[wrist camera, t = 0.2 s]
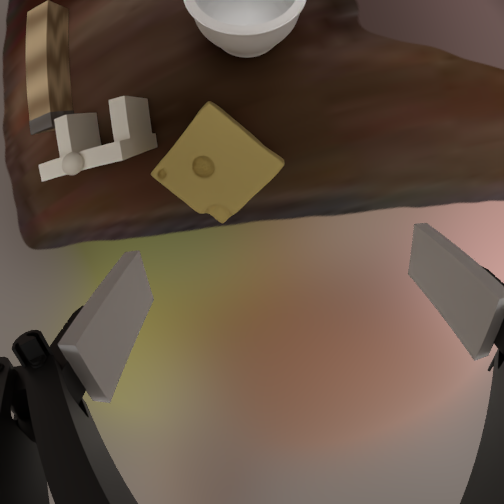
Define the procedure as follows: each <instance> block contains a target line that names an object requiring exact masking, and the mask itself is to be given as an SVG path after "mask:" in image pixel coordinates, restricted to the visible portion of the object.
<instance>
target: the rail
mask: <svg viewBox="0 0 504 504" xmlns="http://www.w3.org/2000/svg"><path fill="white" fill-rule="evenodd" d="M68 19H69V9H67V8H65V7H63V6H60V5H58V4H56V3H53V2H51V1H49V0H48V1H46V2H44V3H42V4H41V5H39V6H37V7H36V8H34V9H32V10H31V11H29V12H28V13H27V27H26V82H27V98H28V109H29V118H30V121H29V124H30V132H31V135H33V134H38V133H43V132H48V131H54V130H56V129H55V122H54V119H56V118H59V117H61V116H64V115H66V114H74V110H73V103H72V94H71V82H70V68H69V43H68Z"/></svg>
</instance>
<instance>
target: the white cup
mask: <svg viewBox="0 0 504 504" xmlns="http://www.w3.org/2000/svg"><path fill="white" fill-rule="evenodd" d="M305 3H306V0H184V4H185V6H186V8H187V10H188V11H189V13H190V14H191V15H192V17H193V18H194V20H195V22H196V24H197V26H198V28H199V30H200V31H201V32H202V34H203V35H204V36H205V37H206V38H207V39H208V40H209V41H211V42H212V43H213V44H215V45H217V46H218V47H220V48H222V49H223V50H224V51H225V52H227V53H229V54H231V55H233V56H237V57H244V58H249V57H256V56H260V55H262V54H264V53H266V52H268V51H269V50H271V49H272V48H273V47H274V46H275V45H277V44H278V43H279V42H281V41H282V40H283V39H284V38H285V37H286V36H287V35H288V34H289V33H290V32H291V31H292V29H293V28H294V26H295V24H296V22H297V20H298V17H299V14H300V12H301V11H302V9H303V8H304V6H305Z"/></svg>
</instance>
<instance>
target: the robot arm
mask: <svg viewBox="0 0 504 504" xmlns="http://www.w3.org/2000/svg"><path fill="white" fill-rule="evenodd" d="M408 274H409V276H410V277H411V278H412V279H413V280H414V282H416V284H417V285H418V286H419V288H420V289H421V290H422V291H423V292H424V294H425V295H426V296H427V297H428V299H429V300H430V301H431V303H432V304H433V305H434V306H435V308H436V309H437V310H438V311H439V312H440V314H441V315H442V317H443V318H444V319H445V321H446V322H447V323H448V325H449V326H450V327H451V328H452V330H453V331H454V333H455V334H456V335H457V337H458V338H459V339H460V341H461V342H462V344H463V345H464V346H465V348H466V349H467V351H468V352H469V353H470V355H471V356H472V358H473V359H474V360H478V359H480V358H483V357H486V356H488V355H489V353H490V351H491V348H492V346H493V344H495V345H496V346H497V348H498V350H497V352H496V354H495V356H494V358H493V360H492V362H491V364H490V366H489V368H488V371H490V370H491V368H492V367H493V366H494V370H493V379H492V386H491V393H490V399H489V405H488V410H487V415H486V420H485V425H484V429H483V434H482V438H481V442H480V445H479V449H478V453H477V457H476V460H475V463H474V466H473V469H472V473H471V475H470V478H469V481H468V485H467V487H466V490H465V492H464V495H463V497H462V500H461V503H460V504H504V283H502V282H501V281H500V280H499V279H498V278H497V277H495V275H494V274H492V273H491V272H490V271H489V270H488V269H486V268H484V267H482V266H480V265H479V264H478V263H477V262H476V261H474V260H473V259H472V258H471V257H470V256H468V255H467V254H466V253H465V252H464V251H462V250H461V249H460V248H459V247H457V246H456V245H455V244H453V243H452V242H451V241H450V240H449V239H447V238H446V237H445V236H443V235H442V234H441V233H439V232H438V231H437V230H436V229H434V228H433V227H431V226H430V225H429V224H427V223H420V224H414V232H413V241H412V249H411V257H410V264H409V271H408ZM153 300H154V299H153V295H152V292H151V289H150V286H149V282H148V279H147V276H146V272H145V269H144V265H143V262H142V259H141V254H140V251H131V252H125V253H124V254H123V256H122V257H121V258H120V260H119V261H118V262H117V263H116V264H115V266H114V267H113V268H112V269H111V271H110V272H109V274H108V275H107V276H106V277H105V279H104V280H103V281H102V283H101V284H100V285H99V286H98V288H97V289H96V290H95V292H94V293H93V295H92V296H91V297H90V299H89V300H88V301H87V303H86V304H85V305H84V306H81V307H80V308H79V309H78V310H77V311H75V312H74V313H73V314H72V316H71V317H70V318H69V320H68V323H66V324H65V325H64V327H63V329H62V330H61V331H60V333H59V334H58V336H57V337H56V338H55V340H54V341H53V343H52V344H51V346H50V347H49V345H48V344H47V342H46V340H45V338H44V336H43V334H42V333H41V331H38V330H31V331H28V332H25V333H24V334H22V335H21V336H19V337H18V338H17V339H16V340H15V342H14V343H13V346H12V350H13V352H14V354H15V355H16V357H17V358H18V360H19V361H20V363H21V365H22V366H17V367H13V366H12V364H11V362H10V361H9V359H8V358H6V357H0V504H49V496H48V488H47V482H48V485H49V488H50V491H51V494H52V497H53V499H54V502H55V504H138V503H137V501H136V500H135V498H134V497H133V495H132V493H131V492H130V490H129V488H128V487H127V485H126V484H125V482H124V480H123V478H122V476H121V475H120V473H119V471H118V469H117V468H116V466H115V464H114V462H113V460H112V458H111V456H110V454H109V452H108V450H107V448H106V446H105V445H104V442H103V440H102V438H101V436H100V434H99V432H98V430H97V428H96V425H95V423H94V421H93V419H92V416H91V414H90V411H89V409H88V407H87V404H86V402H85V401H84V400H83V398H82V397H83V395H84V393H85V391H87V393H88V394H89V396H90V397H91V399H92V400H93V401H100V402H108V403H110V402H111V399H112V397H113V394H114V391H115V389H116V386H117V384H118V381H119V379H120V376H121V374H122V371H123V369H124V366H125V364H126V361H127V359H128V357H129V354H130V352H131V350H132V347H133V345H134V343H135V340H136V338H137V336H138V334H139V331H140V329H141V327H142V324H143V322H144V320H145V318H146V316H147V313H148V311H149V309H150V307H151V304H152V302H153ZM11 411H12V412H13V413H14V419H12V417H11Z"/></svg>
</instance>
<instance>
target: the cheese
mask: <svg viewBox="0 0 504 504" xmlns="http://www.w3.org/2000/svg"><path fill="white" fill-rule="evenodd" d="M283 166H284V159H283V158H281V157H280V156H279V155H277V154H276V153H274V152H273V151H271V150H270V149H268V148H267V147H265V146H264V145H263V144H262V143H261V142H260V141H259V140H258V139H257V138H256V137H255V136H253V135H252V134H251V133H250V132H249V131H248V130H247V129H245V128H244V127H243V126H242V125H241V124H239V123H238V122H237V121H236V120H234V119H233V118H232V117H231V116H230V115H229V114H227V113H226V112H225V111H224V110H223V109H222V108H220V107H219V106H218V105H216V104H215V103H213V102H211V101H208V102H207V103H206V104H205V105H204V106H203V107H202V108H201V109H200V111H199V112H198V113H197V115H196V116H195V118H194V119H193V121H192V122H191V123H190V125H189V126H188V127H187V129H186V130H185V131H184V133H183V134H182V135H181V137H180V138H179V139H178V141H177V142H176V143H175V145H174V146H173V147H172V148H171V149H170V151H169V152H168V153H167V154H166V156H165V157H164V158H163V159H162V160H161V161H160V163H159V164H158V165H157V166H156V167H155V169H154V170H153V171H152V172H151V176H152V177H154V178H155V179H156V180H157V181H158V182H160V183H161V184H162V185H164V186H165V187H166V188H167V189H169V190H170V191H171V192H172V193H174V194H175V195H176V196H177V197H179V198H180V199H181V200H183V201H184V202H185V203H186V204H187V205H189V206H190V207H191V208H192V209H193V210H195V211H196V212H198V213H202V214H203V213H208V214H210V215H212V216H213V217H214V218H215V219H216V220H218V221H219V222H220V223H224V222H225V221H226V220H227V219H228V218H229V217H231V216H232V215H234V214H235V213H237V212H238V211H239V210H240V209H241V208H242V207H243V206H244V205H245V204H246V203H247V202H248V201H249V200H250V199H251V198H252V197H253V196H254V195H255V194H257V193H258V192H259V191H260V190H261V189H262V188H263V187H264V186H265V185H266V184H267V183H269V182H270V181H271V180H272V179H273V178H274V176H275V175H276V174H277V173H278V172H279V171H280V170H281V169H282V167H283Z"/></svg>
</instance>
